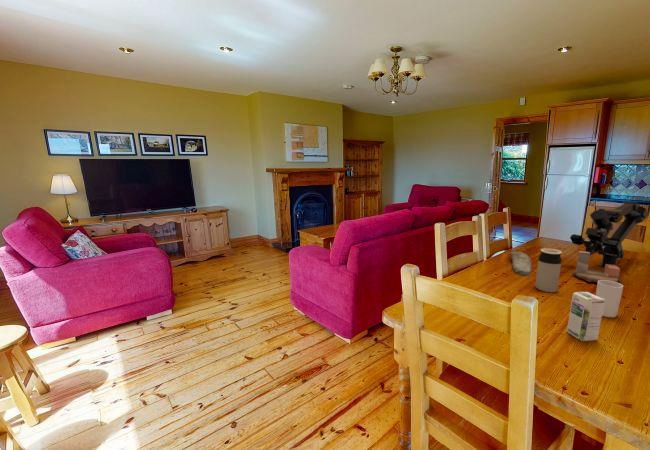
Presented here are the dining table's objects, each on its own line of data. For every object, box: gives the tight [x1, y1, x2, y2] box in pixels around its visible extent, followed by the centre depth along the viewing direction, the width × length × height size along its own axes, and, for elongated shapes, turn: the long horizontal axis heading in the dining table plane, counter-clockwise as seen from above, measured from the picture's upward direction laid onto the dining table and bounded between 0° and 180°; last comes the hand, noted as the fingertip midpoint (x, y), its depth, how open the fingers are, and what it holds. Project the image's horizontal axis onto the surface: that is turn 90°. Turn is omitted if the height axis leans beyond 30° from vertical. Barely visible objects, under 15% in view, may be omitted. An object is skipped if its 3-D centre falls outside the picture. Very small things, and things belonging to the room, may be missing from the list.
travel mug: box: [534, 247, 563, 293], centre depth 129 cm, size 8×8×18 cm
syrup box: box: [566, 291, 605, 342], centre depth 94 cm, size 6×6×14 cm
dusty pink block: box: [603, 264, 621, 277], centre depth 137 cm, size 4×6×4 cm, turn 152°
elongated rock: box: [510, 251, 533, 277], centre depth 161 cm, size 35×5×10 cm
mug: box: [595, 280, 624, 318], centre depth 109 cm, size 10×7×12 cm, turn 131°
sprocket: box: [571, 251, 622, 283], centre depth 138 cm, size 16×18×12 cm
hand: (586, 256), depth 143 cm, fingers closed
